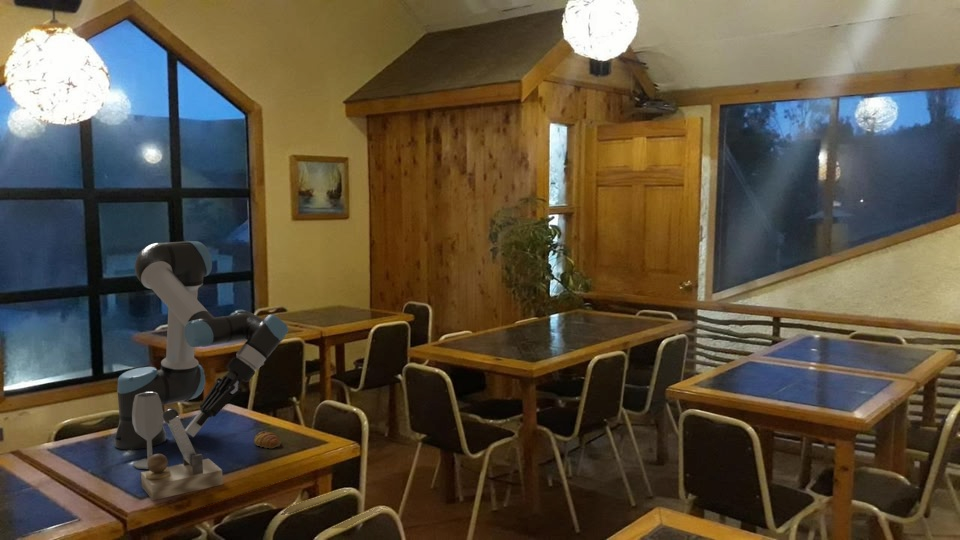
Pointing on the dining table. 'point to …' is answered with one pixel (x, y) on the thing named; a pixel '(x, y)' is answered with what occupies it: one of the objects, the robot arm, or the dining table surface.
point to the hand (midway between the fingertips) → (188, 433)
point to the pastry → (267, 440)
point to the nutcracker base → (179, 476)
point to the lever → (179, 434)
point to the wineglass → (147, 421)
